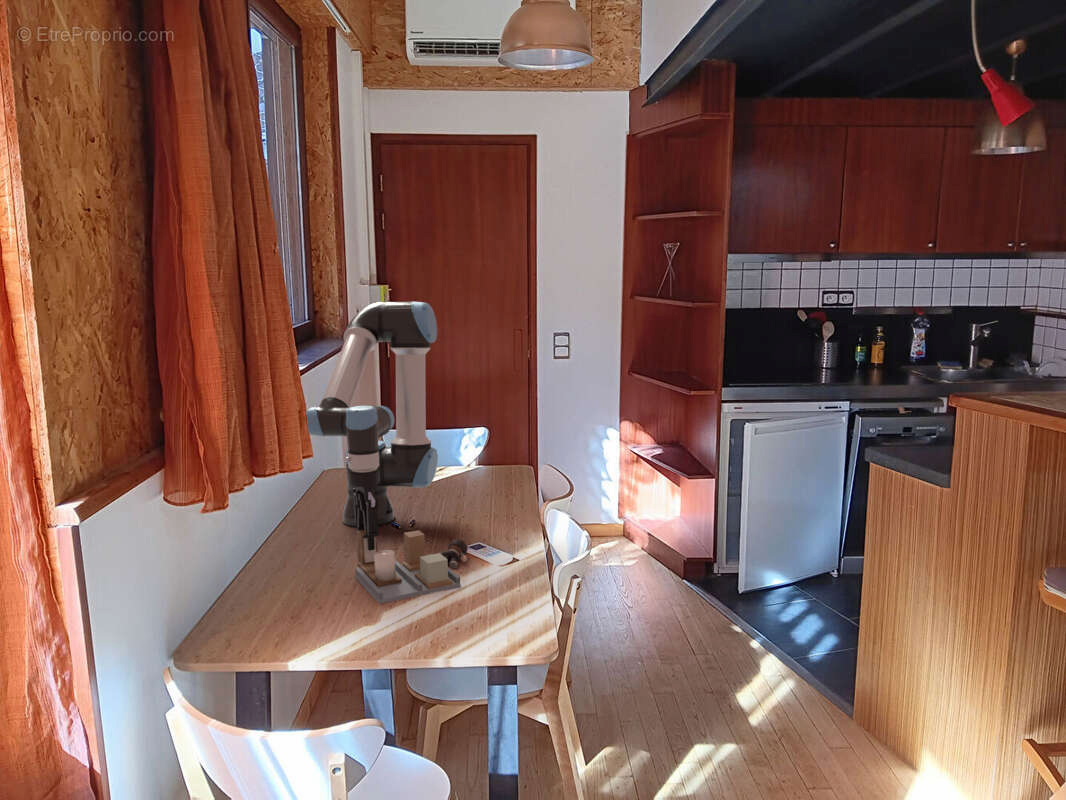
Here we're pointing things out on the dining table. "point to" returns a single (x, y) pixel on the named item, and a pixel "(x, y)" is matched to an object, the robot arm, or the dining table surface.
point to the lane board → (408, 575)
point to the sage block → (434, 568)
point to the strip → (370, 563)
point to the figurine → (456, 552)
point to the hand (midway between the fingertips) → (367, 558)
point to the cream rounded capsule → (385, 565)
